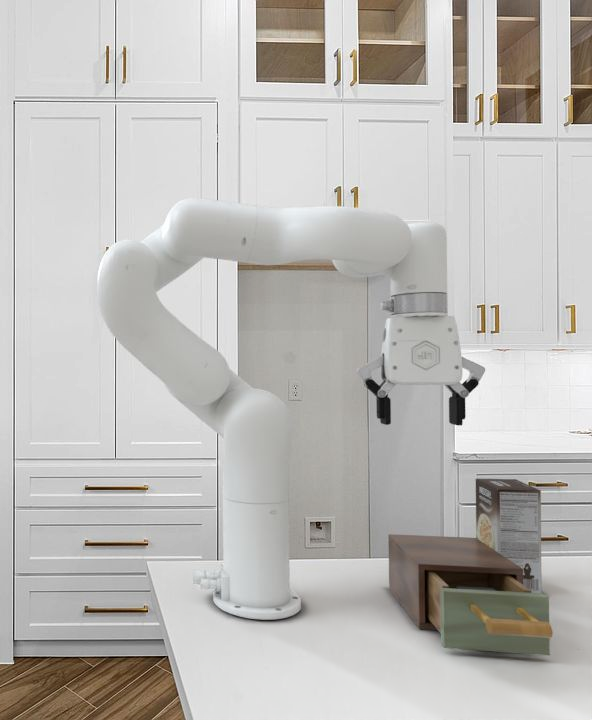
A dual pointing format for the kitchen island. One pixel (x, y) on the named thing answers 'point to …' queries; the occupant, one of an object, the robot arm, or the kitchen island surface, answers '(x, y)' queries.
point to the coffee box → (511, 524)
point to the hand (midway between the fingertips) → (420, 424)
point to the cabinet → (437, 566)
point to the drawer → (487, 613)
